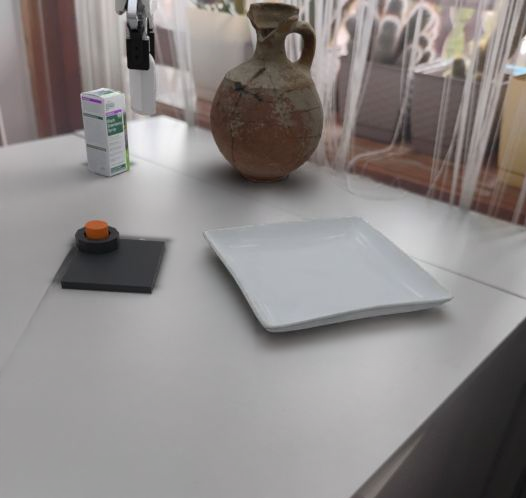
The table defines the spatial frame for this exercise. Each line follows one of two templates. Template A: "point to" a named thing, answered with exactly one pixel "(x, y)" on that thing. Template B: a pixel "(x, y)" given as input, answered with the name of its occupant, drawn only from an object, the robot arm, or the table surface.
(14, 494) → the table surface
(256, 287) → the square plate
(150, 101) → the eye dropper bottle
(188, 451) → the table surface
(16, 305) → the table surface
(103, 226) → the power button
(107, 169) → the syrup box
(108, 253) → the dark grey button base
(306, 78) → the jug
